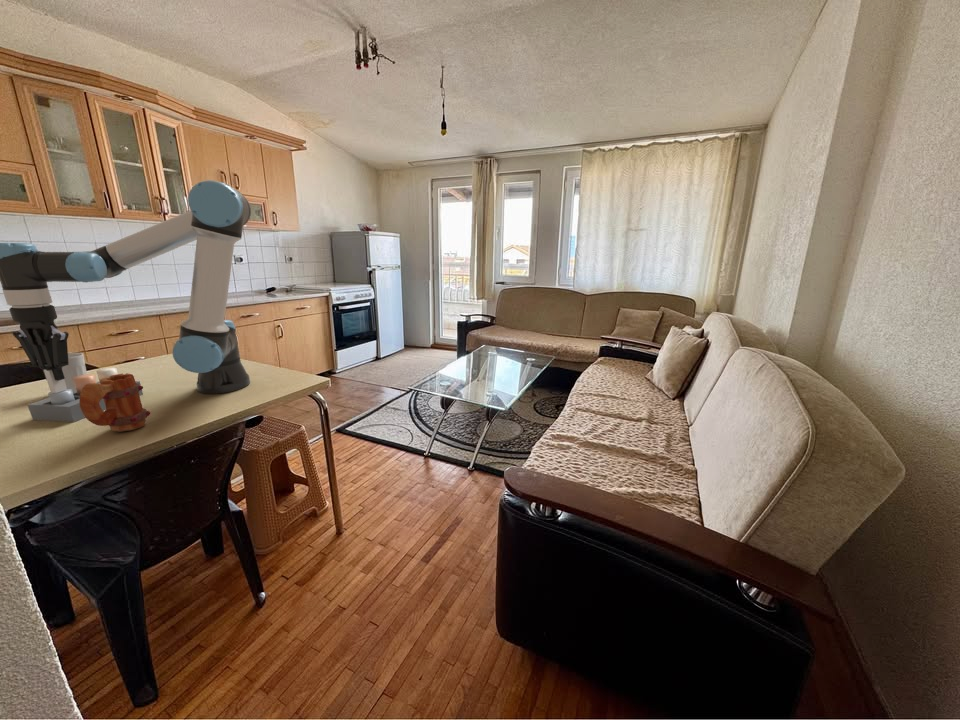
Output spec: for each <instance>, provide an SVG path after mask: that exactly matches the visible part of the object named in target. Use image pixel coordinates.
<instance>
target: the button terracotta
mask: <svg viewBox="0 0 960 720" xmlns="http://www.w3.org/2000/svg"><path fill="white" fill-rule="evenodd" d="M96 379H97V378H96V376H95V374H93V373H92V374H91V373H87V374H86V375H80V376H76V377H74V378H73V381H74V385H75V388H76V391H77V394H78V395H80V394H81V391H82V389H83V387H84V386H85V385H86V384H89V383H97V382H98V381H97V380H96Z"/></svg>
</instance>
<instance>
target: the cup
mask: <svg viewBox="0 0 960 720" xmlns="http://www.w3.org/2000/svg"><path fill="white" fill-rule="evenodd" d="M68 362H69V364H68V365H66V366H63V367H62V371H63V374H64V377H65V378H64V380H65V383H66V387H67V389H72V390H74V389H76V388H75V385H74V381H73V378H74V377H76V376H80V375H86V374H88V373H87V367H86V364H85V363H86V362H85V357H84V353H83V352H68Z"/></svg>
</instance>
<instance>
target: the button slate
mask: <svg viewBox="0 0 960 720" xmlns="http://www.w3.org/2000/svg"><path fill="white" fill-rule="evenodd" d="M47 395H48V398H50V401H51V404H52V405H63V404H66V403H69V402H72V401H74V400H75V398H74V395H73V392H72V389H67V390H64V391H61V392H57V393H51V391H50V392H48V394H47Z"/></svg>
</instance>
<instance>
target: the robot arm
mask: <svg viewBox="0 0 960 720" xmlns="http://www.w3.org/2000/svg"><path fill="white" fill-rule="evenodd" d="M188 192H189V193H188V194H187V195H188V196H187V203H188V204H187V205H188V207H189V209H190V210H188V211H186V212H184V213H181V214H178V215H176V216H174V217H171V218H168V219H166V220H164V221H161V222H158V223H157V224H153V225H152V226H150V227H147V228H145V229H142V230H140V231H137V232H134V233H132V234H130V235H128V236H125V237H122V238H120V239H118V240H114V241H113V242H110V243H108V244H106V245H104V246H101V247H98V248H96V249H94V250H91V251H90V250H89V251H41V250H38V248H37V245H35V244H34V243H32V242H31V243H29V242H0V284H1V288H2V294H3V296H4V298H5V302H6V305H8V306H10V307H9V312H10V316H11V318H12V321H13V322H14V323H19V330H18V331H12V335H13V337H14V338H15V339H16V340H17V341H18V342H19V344H20V346H21V347H22V349H23V351H24V353H25V354H26V356H27V358H28V360H29V362H30V364H31V365H32V367H34V368H36V367H38V368H39V369H40V370H42V372H43V375H44V379H45V380H46V383H47V385H48V388H49V391H50V392H51V393H57V392H61V391H64V390H67V387H66V383H65V380H64V378H65V377H64V374H63V371H62V367H63V366H66V365H68V364H69V362H68V353H69V348H68V338H69V332H68V331H61V330H59V329H58V325H57V324H56V323H55V320H56V319H57V318H58V315H57V312H56V308H55V306H54V305H53V304H52V303H53V300H52V296H51V293H50V290H49V286H48V283H52V282H54V283H55V282H59V283H60V282H61V283H62V282H63V283H64V282H67V283H68V282H69V283H70V282H71V283H93V282H103V281H104V280H105V279H110V278H113V277H117V276H119V275H121V274H122V273H123V272H124V271H126V270H128V269H131V268H133V267H136V266H138V265H140V264H142V263H145V262H147V261H149V260H152V259H154V258H157V257H159V256H161V255H164V254H166V253H168V252H171V251H173V250H176V249H179V248H180V247H183V246H184V245H188V244H189V243H192V242H194V241H196V244H195V252H194V263H193V269H192V270H193V272H192V281H191V282H192V283H191V290H190V299H189V310H188V316H187V319H184V320H183V321H181V323H180V328H179V329H180V330H179V336H178V337H179V339H178V340H177V341H175V343H174V345H173V347H172V353H171V354H172V357H173V359H174V361H175V363H176V364H177V365H178V366H179V367H180V368H181V369H183V370H185V371H187V372H190V373H195V374H198V375H197V381H196V389H197V392H199V393H200V394H205V395H207V394H208V395H209V394H210V395H212V394H213V395H214V394H215V395H216V394H224V393H230V392H234V391H238V390H241V389H244V388H245V387H247V386H248V385H250V383H251V378H250V375H249V374H248V372H247V370H246V369H245V367H244V366H243V363H242V362H241V361H242V360H241V355H240V349H239V344H238V338H237V332H236V331H237V328H236V326H235V323H234V321H232V320H230V319H226V310H227V302H228V296H229V289H230V280H231V272H232V271H231V270H232V265H233V257H234V256H233V255H234V248H235V245H236V243H238V242H239V241H241V240H242V238H243V237H242V235H243V228H244V226H245V225H246V224H248V222H249V221H250V219H251V215H252V208H251V205H250V203H249V200H248V199H247V198H246V197H245V195H243V194H242V192H240V191H238V190H237V189H235V188H234V187H232V186H231V185H229V184H227V183H224V182H222V181H217V180H202V181H200V182H198V183H196V184H194V185H193V186H192V187H191V189H190V191H188Z"/></svg>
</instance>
